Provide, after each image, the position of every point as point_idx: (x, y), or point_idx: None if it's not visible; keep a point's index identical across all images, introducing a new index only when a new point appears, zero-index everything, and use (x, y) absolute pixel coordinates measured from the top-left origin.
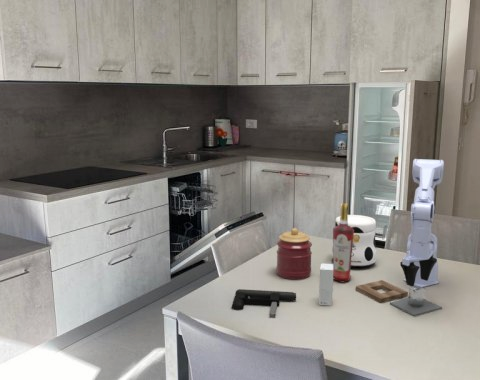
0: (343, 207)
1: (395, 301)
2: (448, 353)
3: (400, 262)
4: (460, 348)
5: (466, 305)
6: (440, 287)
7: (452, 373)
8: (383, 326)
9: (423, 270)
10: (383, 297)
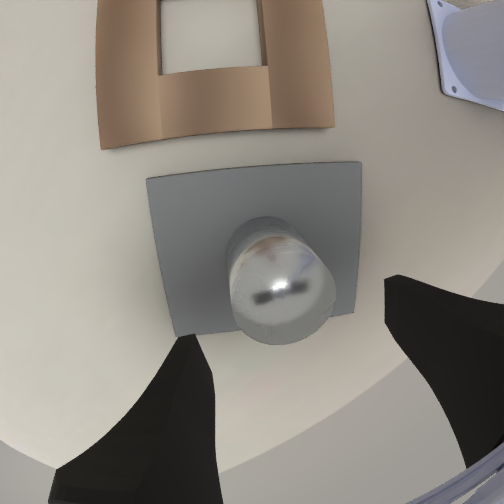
0: None
1: (185, 179)
2: None
3: (48, 500)
4: None
5: None
6: (495, 140)
7: None
8: (30, 341)
9: (431, 335)
10: (126, 138)
